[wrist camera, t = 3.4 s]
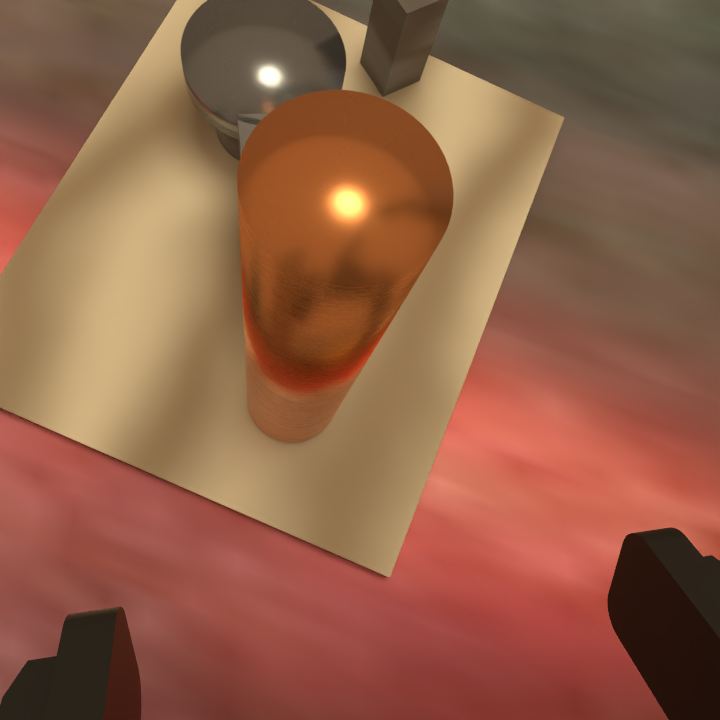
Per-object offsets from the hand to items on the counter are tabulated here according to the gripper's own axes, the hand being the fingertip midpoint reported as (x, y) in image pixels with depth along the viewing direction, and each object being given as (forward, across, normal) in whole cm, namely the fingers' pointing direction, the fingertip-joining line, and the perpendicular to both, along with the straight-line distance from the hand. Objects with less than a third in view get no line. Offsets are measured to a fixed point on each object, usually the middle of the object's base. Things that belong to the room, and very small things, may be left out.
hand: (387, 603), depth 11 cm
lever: (+19, 0, +1) cm, 19 cm away
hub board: (+20, -1, +1) cm, 20 cm away
